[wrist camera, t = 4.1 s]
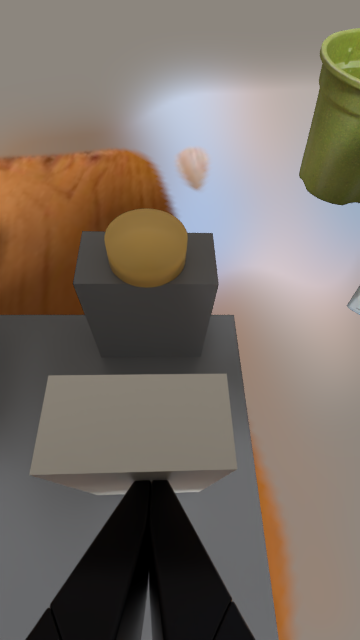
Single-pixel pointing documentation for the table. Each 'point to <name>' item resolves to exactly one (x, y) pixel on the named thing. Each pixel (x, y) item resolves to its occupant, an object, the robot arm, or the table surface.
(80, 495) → the grey holder stand
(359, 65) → the plant pot
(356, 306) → the supplement box
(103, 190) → the table surface
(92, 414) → the tall white block
